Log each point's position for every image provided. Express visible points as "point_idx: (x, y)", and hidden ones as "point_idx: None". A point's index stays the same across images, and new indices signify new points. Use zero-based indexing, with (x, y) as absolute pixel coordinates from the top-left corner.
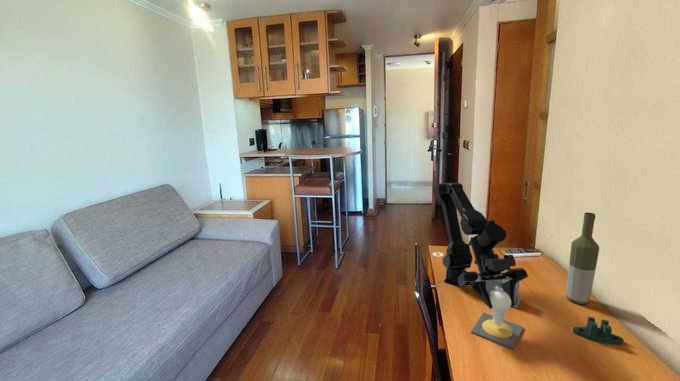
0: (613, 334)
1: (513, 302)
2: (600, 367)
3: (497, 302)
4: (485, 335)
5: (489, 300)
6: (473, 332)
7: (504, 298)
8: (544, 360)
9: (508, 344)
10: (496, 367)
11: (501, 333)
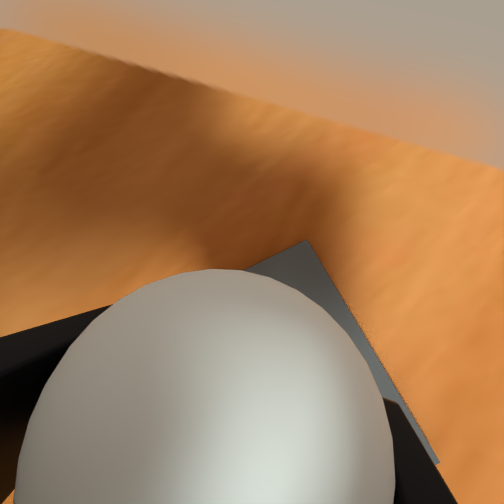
0: None
1: (92, 313)
2: (109, 85)
3: (353, 345)
4: (376, 377)
5: (414, 486)
6: (428, 444)
7: (233, 296)
8: (240, 159)
9: (309, 266)
10: (469, 198)
11: None
